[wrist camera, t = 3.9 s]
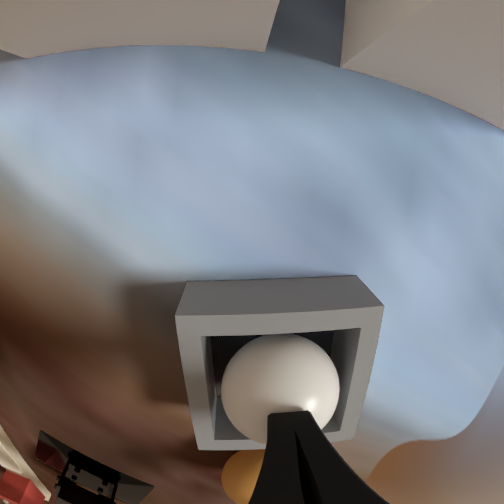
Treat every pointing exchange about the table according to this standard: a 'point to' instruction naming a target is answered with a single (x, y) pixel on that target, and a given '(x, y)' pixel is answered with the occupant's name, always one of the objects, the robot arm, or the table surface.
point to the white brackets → (259, 27)
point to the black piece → (87, 476)
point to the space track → (22, 463)
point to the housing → (276, 322)
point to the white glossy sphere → (278, 383)
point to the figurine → (242, 474)
